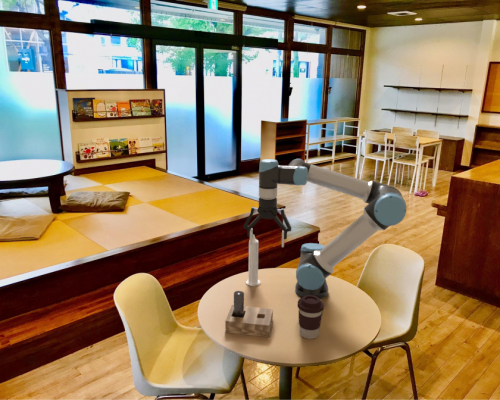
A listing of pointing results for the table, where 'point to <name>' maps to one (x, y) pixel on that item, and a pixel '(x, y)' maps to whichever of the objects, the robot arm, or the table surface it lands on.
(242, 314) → the steel pin
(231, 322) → the oak block
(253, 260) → the candle
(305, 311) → the coffee cup
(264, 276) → the table surface
